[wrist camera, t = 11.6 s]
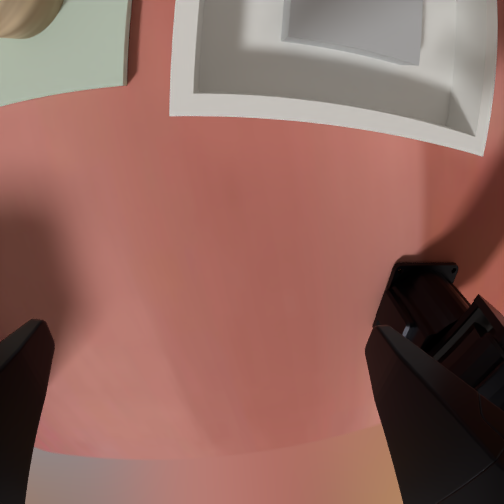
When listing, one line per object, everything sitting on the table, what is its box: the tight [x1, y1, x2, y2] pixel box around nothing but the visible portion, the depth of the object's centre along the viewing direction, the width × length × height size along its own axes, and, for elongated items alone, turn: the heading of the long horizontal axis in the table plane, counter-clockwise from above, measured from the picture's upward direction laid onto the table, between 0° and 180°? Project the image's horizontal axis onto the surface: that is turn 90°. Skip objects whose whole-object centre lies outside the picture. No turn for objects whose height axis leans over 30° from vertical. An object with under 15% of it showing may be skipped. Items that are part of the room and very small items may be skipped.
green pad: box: [0, 0, 132, 106], centre depth 11 cm, size 12×12×1 cm
